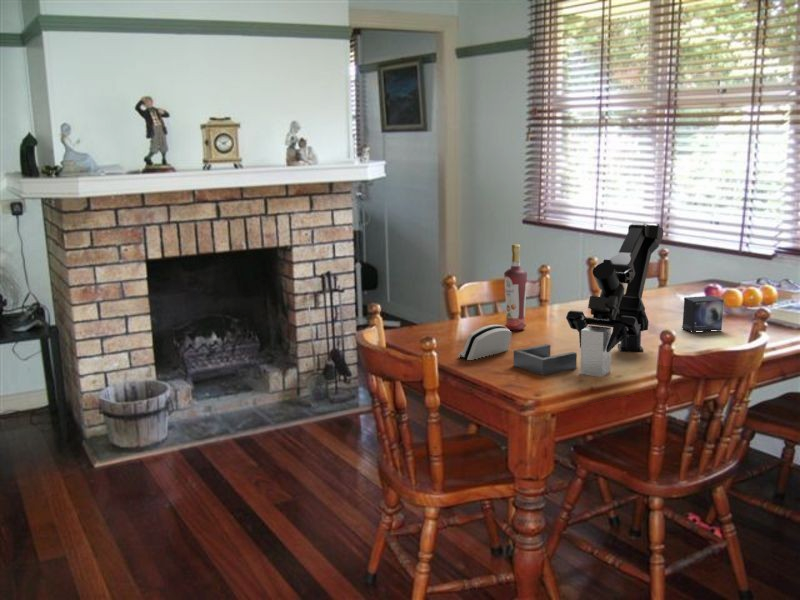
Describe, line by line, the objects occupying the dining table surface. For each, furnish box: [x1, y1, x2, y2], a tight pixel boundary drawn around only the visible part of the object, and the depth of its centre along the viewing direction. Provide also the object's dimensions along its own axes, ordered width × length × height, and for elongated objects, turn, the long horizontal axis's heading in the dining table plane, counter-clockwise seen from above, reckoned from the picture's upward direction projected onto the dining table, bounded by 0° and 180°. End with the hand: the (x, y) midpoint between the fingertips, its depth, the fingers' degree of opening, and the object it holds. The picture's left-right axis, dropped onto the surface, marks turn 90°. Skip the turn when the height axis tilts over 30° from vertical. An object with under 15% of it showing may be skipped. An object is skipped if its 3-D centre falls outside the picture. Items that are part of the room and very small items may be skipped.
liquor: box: [503, 243, 528, 332], centre depth 262 cm, size 7×7×28 cm
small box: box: [681, 295, 724, 332], centre depth 256 cm, size 11×6×10 cm, turn 102°
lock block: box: [579, 325, 612, 378], centre depth 213 cm, size 6×6×12 cm
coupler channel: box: [513, 343, 578, 376], centre depth 220 cm, size 12×12×4 cm
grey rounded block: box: [457, 324, 513, 361], centre depth 234 cm, size 17×5×10 cm, turn 131°
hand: (594, 349), depth 212 cm, fingers open, 7 cm apart
